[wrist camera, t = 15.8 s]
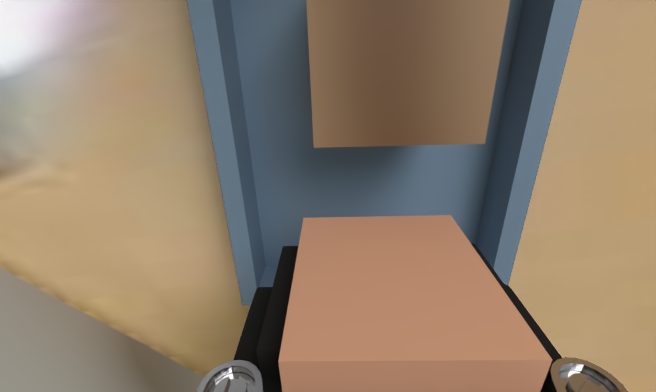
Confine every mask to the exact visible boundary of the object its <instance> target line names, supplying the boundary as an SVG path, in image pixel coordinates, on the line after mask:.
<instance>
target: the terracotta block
mask: <svg viewBox="0 0 656 392" xmlns="http://www.w3.org/2000/svg"><path fill="white" fill-rule="evenodd" d="M551 362H552V358H551V357H550V356H549V354H548V353H547V351H546V350H545V348H544V347H543V346H542V344H541V343H540V341H539V340H538V338H537V337H536V336H535V334H534V333H533V331H532V330H531V328H530V327H529V326H528V324H527V323H526V321H525V320H524V318H523V317H522V316H521V314H520V313H519V311H518V310H517V309H516V307H515V306H514V304H513V303H512V301H511V300H510V299H509V297H508V296H507V294H506V293H505V291H504V290H503V289H502V287H501V286H500V284H499V283H498V281H497V280H496V279H495V277H494V276H493V274H492V273H491V272H490V270H489V269H488V267H487V266H486V264H485V263H484V262H483V260H482V259H481V257H480V256H479V254H478V253H477V252H476V250H475V249H474V247H473V246H472V244H471V243H470V242H469V240H468V239H467V237H466V236H465V235H464V233H463V232H462V230H461V229H460V227H459V226H458V225H457V223H456V222H455V220H454V219H453V217H452V216H451V215H427V216H372V217H317V218H303V223H302V229H301V235H300V241H299V246H298V252H297V258H296V263H295V269H294V275H293V281H292V286H291V292H290V298H289V303H288V309H287V315H286V320H285V326H284V332H283V338H282V343H281V349H280V355H279V360H278V363H279V370H280V378H281V385H282V392H540V391H541V389H542V386H543V383H544V381H545V378H546V375H547V373H548V370H549V367H550V365H551Z"/></svg>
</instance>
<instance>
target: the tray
mask: <svg viewBox="0 0 656 392" xmlns="http://www.w3.org/2000/svg"><path fill="white" fill-rule="evenodd" d="M581 1H582V0H510V4H509V10H508V15H507V21H506V27H505V32H504V38H503V44H502V49H501V55H500V61H499V66H498V72H497V78H496V83H495V89H494V95H493V100H492V106H491V112H490V117H489V123H488V129H487V134H486V140H485V144H454V145H410V146H367V147H324V148H314V142H313V122H312V103H311V83H310V63H309V44H308V24H307V4H306V0H187V4H188V10H189V15H190V21H191V26H192V32H193V37H194V43H195V48H196V54H197V59H198V65H199V70H200V76H201V81H202V87H203V92H204V97H205V103H206V108H207V114H208V119H209V125H210V130H211V136H212V141H213V147H214V152H215V158H216V163H217V169H218V174H219V180H220V185H221V191H222V196H223V202H224V207H225V213H226V218H227V224H228V229H229V234H230V240H231V245H232V251H233V256H234V262H235V267H236V273H237V278H238V284H239V289H240V295H241V300H242V305H251V304H252V300H253V297H254V294H255V291H256V289H257V288H258V287H273V283H274V279H275V275H276V271H277V267H278V263H279V259H280V255H281V251H282V248H283V246H299V241H300V235H301V229H302V223H303V218H317V217H372V216H427V215H451V216H452V217H453V219H454V220H455V222H456V223H457V225H458V226H459V227H460V229H461V230H462V232H463V233H464V235H465V236H466V237H467V239H468V240H469V242H470V243H474V244H475V245H476V246H477V247H478V248H479V250H480V251H481V253H482V254H483V255H484V257H485V258H486V260H487V261H488V262H489V264H490V265H491V266H492V268H493V269H494V271H495V272H496V273H497V275H498V276H499V278H500V279H501V280H502V282H503V283H504V284H506V285H508V284H509V280H510V276H511V272H512V268H513V264H514V260H515V257H516V253H517V249H518V245H519V241H520V237H521V233H522V230H523V226H524V222H525V218H526V214H527V210H528V206H529V202H530V199H531V195H532V191H533V187H534V183H535V179H536V175H537V172H538V168H539V164H540V160H541V156H542V152H543V148H544V144H545V141H546V137H547V133H548V129H549V125H550V121H551V117H552V113H553V110H554V106H555V102H556V98H557V94H558V90H559V86H560V83H561V79H562V75H563V71H564V67H565V63H566V59H567V55H568V52H569V48H570V44H571V40H572V36H573V32H574V28H575V25H576V21H577V17H578V13H579V9H580V5H581Z"/></svg>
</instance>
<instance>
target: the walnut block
mask: <svg viewBox="0 0 656 392" xmlns="http://www.w3.org/2000/svg"><path fill="white" fill-rule="evenodd" d="M306 4H307V24H308V44H309V63H310V83H311V103H312V122H313V142H314V148H324V147H367V146H410V145H454V144H485V140H486V134H487V129H488V123H489V117H490V112H491V106H492V100H493V95H494V89H495V83H496V78H497V72H498V66H499V61H500V55H501V49H502V44H503V38H504V32H505V27H506V21H507V15H508V10H509V4H510V0H306Z"/></svg>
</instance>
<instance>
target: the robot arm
mask: <svg viewBox="0 0 656 392" xmlns="http://www.w3.org/2000/svg"><path fill="white" fill-rule="evenodd" d="M471 244H472V246H473V247H474V249H475V250H476V252H477V253H478V254H479V256H480V257H481V259H482V260H483V262H484V263H485V264H486V266H487V267H488V269H489V270H490V272H491V273H492V274H493V276H494V277H495V279H496V280H497V281H498V283H499V284H500V286H501V287H502V289H503V290H504V291H505V293H506V294H507V296H508V297H509V299H510V300H511V301H512V303H513V304H514V306H515V307H516V309H517V310H518V311H519V313H520V314H521V316H522V317H523V318H524V320H525V321H526V323H527V324H528V326H529V327H530V328H531V330H532V331H533V333H534V334H535V336H536V337H537V338H538V340H539V341H540V343H541V344H542V346H543V347H544V348H545V350H546V351H547V353H548V354H549V356H550V357H551V358H552V362H551V365H550V367H549V370H548V373H547V375H546V378H545V381H544V383H543V386H542V389H541V391H540V392H628V391H627V390H626V389H625V387H624V386H623V385H622V384H621V383H620V382H619V381H618V380H617V379H616V378H615V377H614V376H612V375H611V374H610V373H608V372H607V371H605V370H604V369H602V368H601V367H599V366H597V365H595V364H592V363H590V362H588V361H585V360H581V359H578V358H567V357H565V358H562V357H561V356H560V354H559V353H558V352H557V350H556V349H555V348H554V346H553V345H552V344H551V342H550V341H549V339H548V338H547V337H546V335H545V334H544V333H543V331H542V330H541V329H540V327H539V326H538V325H537V323H536V322H535V320H534V319H533V318H532V316H531V315H530V314H529V312H528V311H527V310H526V308H525V307H524V306H523V304H522V303H521V302H520V300H519V299H518V297H517V296H516V295H515V293H514V292H513V291H512V289H511V288H510V287H509V286H508V285H506V284H504V283H503V282H502V280H501V279H500V278H499V276H498V275H497V273H496V272H495V271H494V269H493V268H492V266H491V265H490V264H489V262H488V261H487V260H486V258H485V257H484V255H483V254H482V253H481V251H480V250H479V248H478V247H477V246H476V245H475V244H474V243H471ZM297 252H298V246H283V248H282V251H281V255H280V259H279V263H278V267H277V271H276V275H275V279H274V283H273V287H258V288H257V289H256V291H255V294H254V297H253V300H252V304H251V307H250V310H249V313H248V316H247V319H246V322H245V326H244V329H243V332H242V335H241V338H240V341H239V344H238V348H237V351H236V354H235V357H234V360H232V361H228V362H225V363H222V364H220V365H219V366H217V367H215V368H214V369H212V370H211V371H210V372H209V373H208V374H207V375H206V376H205V377H204V378H203V380H202V382H201V383H200V385H199V386H198V390H197V392H282V385H281V378H280V370H279V363H278V360H279V355H280V349H281V343H282V338H283V332H284V326H285V320H286V315H287V309H288V303H289V298H290V292H291V286H292V281H293V275H294V269H295V263H296V258H297Z"/></svg>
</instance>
